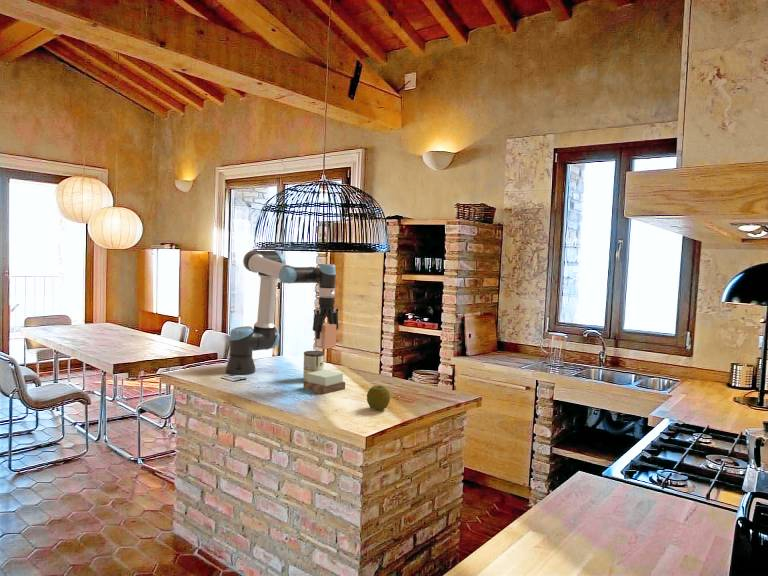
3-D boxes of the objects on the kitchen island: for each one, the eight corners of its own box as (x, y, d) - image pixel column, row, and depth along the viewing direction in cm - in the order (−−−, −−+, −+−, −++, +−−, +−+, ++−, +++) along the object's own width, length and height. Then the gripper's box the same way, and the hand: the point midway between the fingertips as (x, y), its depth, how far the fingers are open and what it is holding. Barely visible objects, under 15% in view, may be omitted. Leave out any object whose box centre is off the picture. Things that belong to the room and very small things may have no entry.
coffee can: (305, 376, 295) (306, 350, 294) (325, 378, 294) (326, 351, 293) (300, 381, 285) (301, 353, 284) (320, 382, 284) (321, 354, 283)
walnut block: (303, 389, 271) (303, 381, 271) (324, 384, 282) (325, 376, 282) (323, 395, 262) (323, 386, 262) (344, 390, 273) (345, 382, 273)
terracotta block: (314, 346, 270) (315, 323, 269) (325, 345, 275) (326, 322, 275) (324, 349, 266) (325, 325, 265) (335, 347, 271) (336, 324, 270)
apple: (361, 407, 243) (362, 382, 242) (380, 405, 248) (381, 380, 247) (375, 414, 234) (376, 387, 234) (394, 411, 240) (395, 385, 239)
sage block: (306, 381, 270) (307, 373, 270) (324, 377, 280) (324, 369, 280) (325, 386, 263) (325, 377, 263) (342, 381, 273) (342, 373, 273)
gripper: (316, 298, 259) (314, 348, 261) (347, 296, 274) (345, 344, 275) (305, 296, 264) (303, 345, 266) (336, 295, 279) (335, 341, 280)
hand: (325, 344), depth 270 cm, fingers closed on terracotta block, 7 cm apart
